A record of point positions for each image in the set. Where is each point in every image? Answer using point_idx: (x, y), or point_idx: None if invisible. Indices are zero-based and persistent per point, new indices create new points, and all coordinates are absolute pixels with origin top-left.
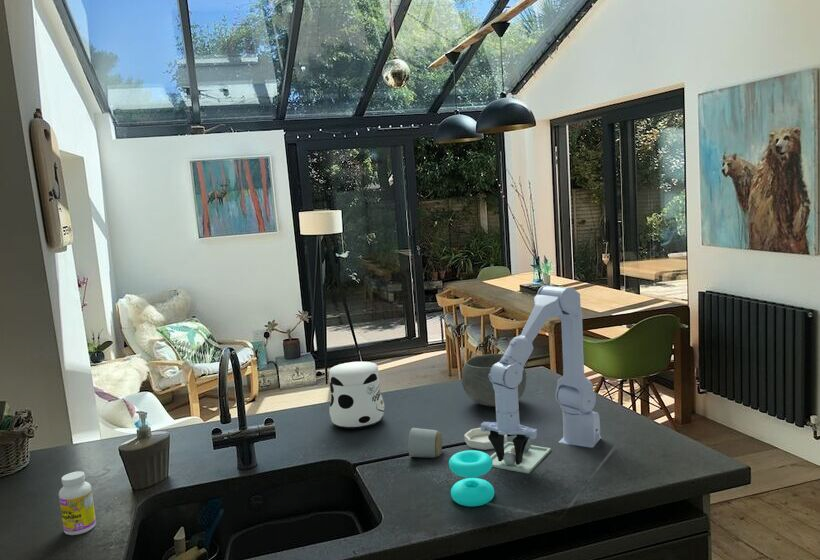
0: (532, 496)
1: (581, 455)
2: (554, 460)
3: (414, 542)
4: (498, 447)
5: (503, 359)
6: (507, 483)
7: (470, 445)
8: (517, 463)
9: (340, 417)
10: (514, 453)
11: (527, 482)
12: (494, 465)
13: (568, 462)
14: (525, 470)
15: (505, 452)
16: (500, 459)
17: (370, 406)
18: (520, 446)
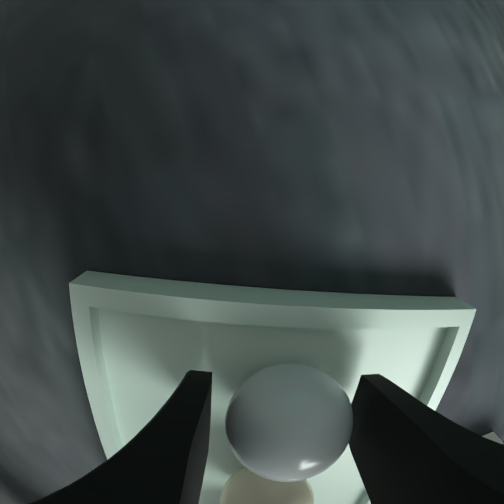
0: (20, 11)
1: (40, 488)
2: (83, 467)
3: None
4: (436, 456)
5: None
6: (201, 73)
7: (498, 442)
8: (196, 374)
9: None
10: (247, 466)
11: (61, 155)
12: (399, 307)
13: (30, 449)
14: (95, 288)
15: (349, 483)
16: (370, 381)
17: None
18: (41, 501)
